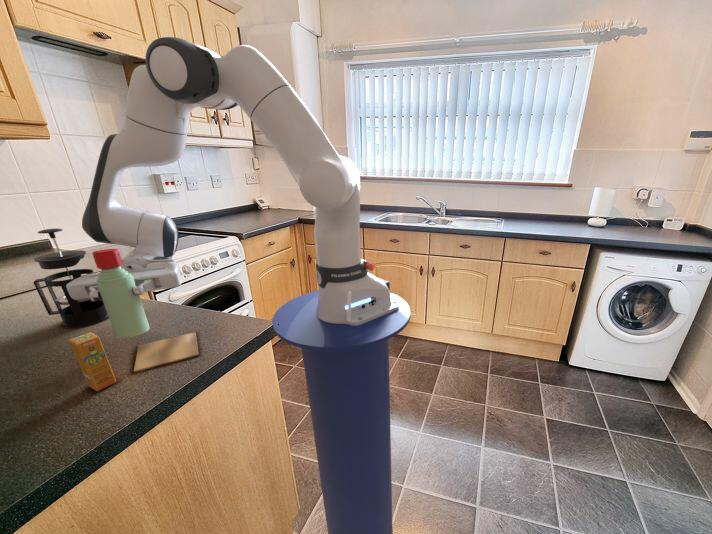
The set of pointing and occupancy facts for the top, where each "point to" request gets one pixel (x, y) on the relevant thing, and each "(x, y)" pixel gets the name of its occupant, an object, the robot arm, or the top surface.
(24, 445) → the top surface
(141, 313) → the sauce bottle
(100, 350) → the supplement box
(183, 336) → the cork coaster
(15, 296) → the top surface
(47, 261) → the french press
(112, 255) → the red cap
